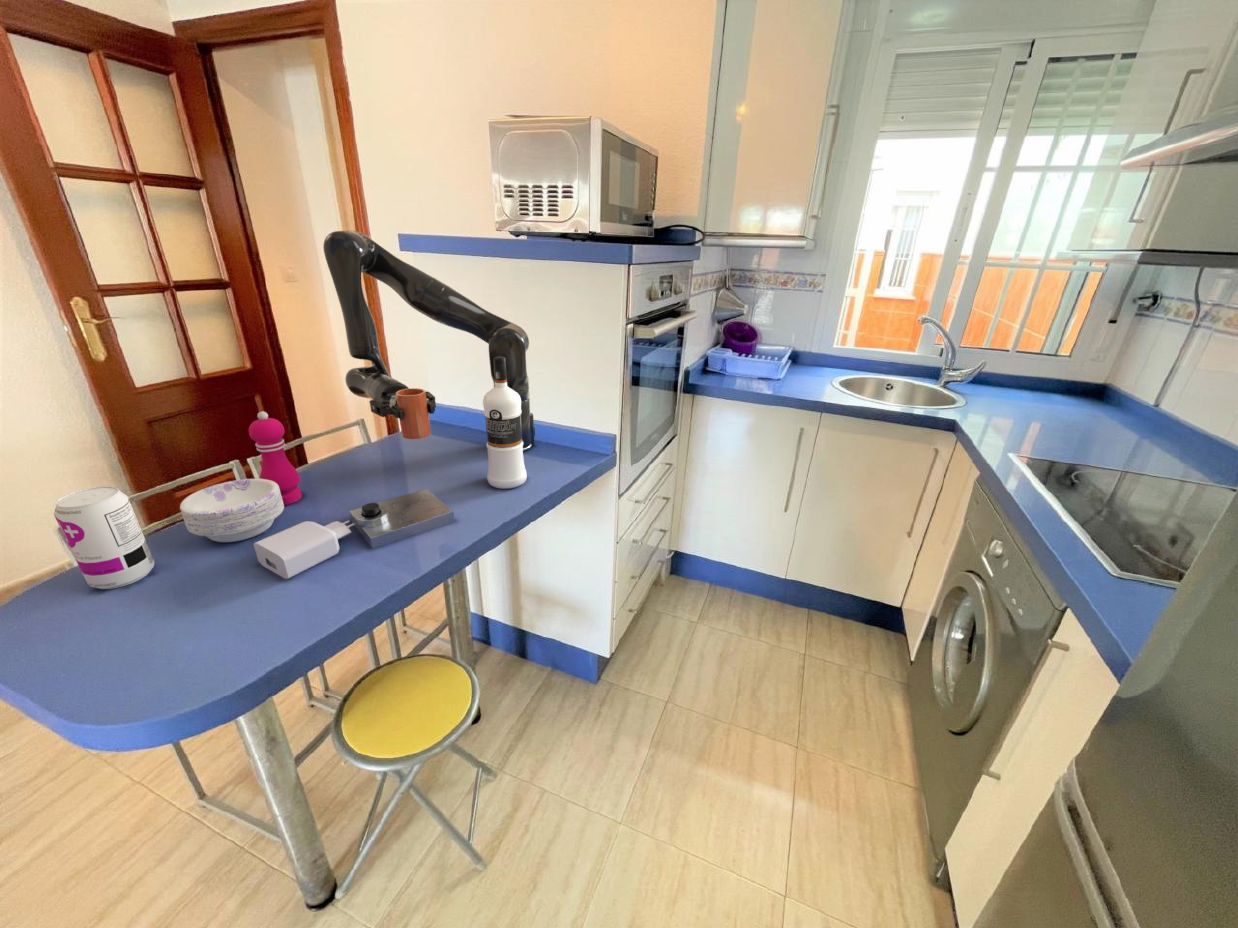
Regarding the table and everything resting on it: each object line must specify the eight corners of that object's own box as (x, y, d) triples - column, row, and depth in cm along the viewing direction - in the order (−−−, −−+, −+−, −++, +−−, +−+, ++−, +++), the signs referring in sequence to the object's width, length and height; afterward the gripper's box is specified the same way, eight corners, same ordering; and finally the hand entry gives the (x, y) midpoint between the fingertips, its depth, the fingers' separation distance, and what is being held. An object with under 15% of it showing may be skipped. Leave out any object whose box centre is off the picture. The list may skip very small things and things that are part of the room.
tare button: (377, 509, 99) (375, 501, 99) (382, 514, 97) (381, 507, 97) (361, 513, 97) (359, 505, 97) (366, 519, 95) (364, 511, 95)
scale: (428, 498, 112) (426, 482, 110) (454, 521, 103) (452, 504, 101) (348, 522, 101) (344, 504, 100) (370, 550, 93) (366, 531, 91)
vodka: (534, 477, 123) (528, 355, 111) (513, 493, 115) (505, 363, 103) (501, 471, 126) (493, 351, 114) (479, 485, 118) (468, 358, 106)
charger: (369, 540, 96) (289, 581, 84) (339, 526, 100) (259, 564, 88) (365, 518, 94) (282, 557, 82) (334, 505, 98) (251, 541, 86)
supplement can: (99, 598, 78) (59, 514, 72) (82, 579, 82) (42, 499, 76) (164, 572, 85) (132, 493, 79) (144, 556, 89) (112, 480, 83)
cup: (424, 428, 118) (419, 386, 114) (435, 435, 114) (429, 393, 110) (398, 433, 115) (391, 391, 111) (408, 441, 111) (401, 397, 106)
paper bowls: (258, 504, 107) (248, 470, 103) (305, 522, 101) (296, 487, 98) (174, 538, 94) (160, 500, 91) (222, 560, 88) (208, 521, 85)
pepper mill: (311, 493, 112) (290, 407, 104) (289, 508, 105) (265, 418, 97) (281, 490, 113) (258, 405, 104) (257, 506, 106) (230, 416, 98)
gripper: (356, 383, 116) (380, 401, 104) (417, 375, 125) (447, 390, 113) (361, 414, 119) (386, 435, 107) (421, 404, 128) (450, 421, 116)
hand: (417, 412), depth 110 cm, fingers closed on cup, 6 cm apart
